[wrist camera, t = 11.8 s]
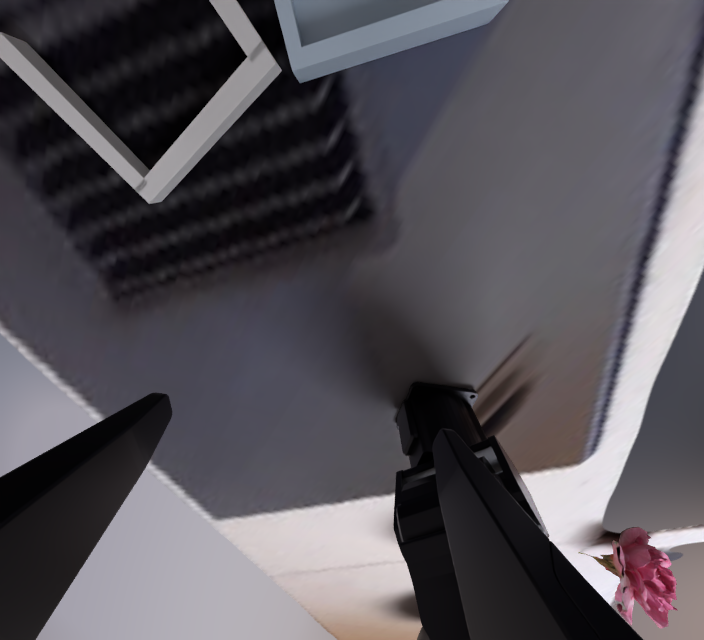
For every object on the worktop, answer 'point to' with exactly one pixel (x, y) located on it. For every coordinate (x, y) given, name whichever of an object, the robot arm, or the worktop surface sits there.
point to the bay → (196, 136)
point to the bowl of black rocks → (423, 635)
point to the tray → (370, 29)
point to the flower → (641, 576)
